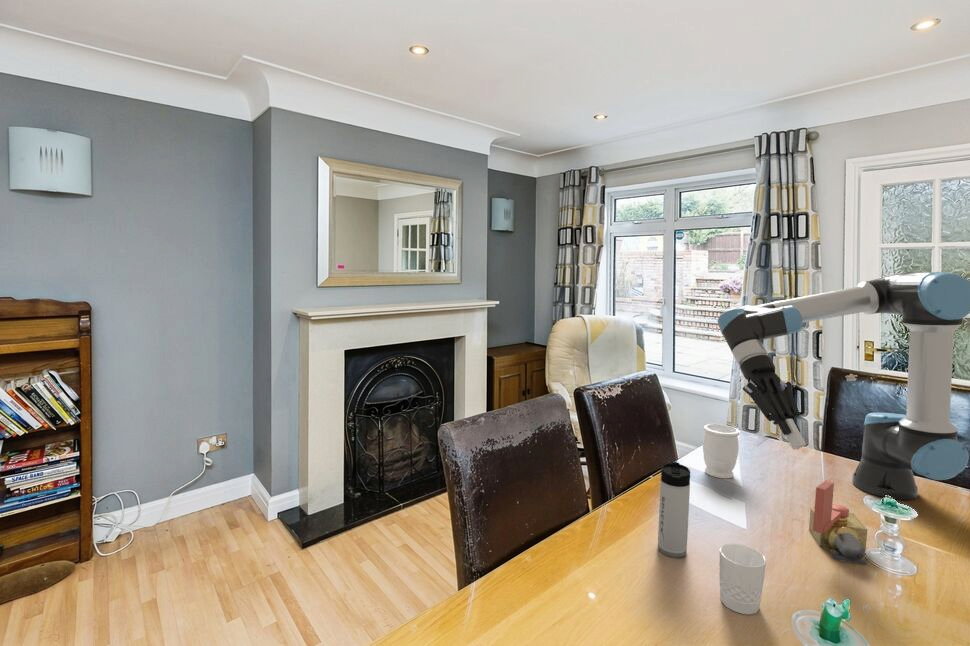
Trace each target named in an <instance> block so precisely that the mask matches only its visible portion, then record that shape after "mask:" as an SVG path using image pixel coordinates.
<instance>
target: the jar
mask: <svg viewBox="0 0 970 646" xmlns="http://www.w3.org/2000/svg"><path fill="white" fill-rule="evenodd" d="M703 430H704V431H705V432H704V434H703V438H702V439H703V440H702V451H703V460H704V464H705V468H704V471H705V473H706V474H707V475H709V476H711V477H713V478H717V479H731V478H733V477H734V472H733V470H734V469H735V467H736V464H737V460H738V456H739V449H740V447H739V445H740V444H739V442H740V441H739V438H738V437H739V435H740V430H739V429H738V428H736V427H735V426H731V425H726V424H722V423H721V424H720V423H709V424H705V425H704V426H703Z"/></svg>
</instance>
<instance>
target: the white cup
mask: <svg viewBox="0 0 970 646" xmlns="http://www.w3.org/2000/svg"><path fill="white" fill-rule="evenodd" d="M766 564H767V560H766V557H765V556H764V554H763V553H761V552H760V551H759V550H757V549H755V548H752V547H750V546H748V545H745V544H740V543H726V544H725V543H724V544H723V545H721V546H720V548H719V587H720V590H719V591H720V593H719V595H720V597H719V598H720V602H721V603H722V604H723V605H724V607H726V608H728V609H729V610H731V611H733V612H735V613H739V614H741V615H747V616H748V615H750V616H751V615H754V614H757V612H758V611H759V610H760V607H761V606H760V605H761V597H762V595H763V594H762V593H763V588H764V581H765V580H764V579H765V572H766V571H765V570H766Z"/></svg>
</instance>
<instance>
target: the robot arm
mask: <svg viewBox="0 0 970 646" xmlns="http://www.w3.org/2000/svg"><path fill="white" fill-rule="evenodd" d="M859 313H863V314H865V315H874V314H883V313H884V314H898V315H899V314H900V315H902V325H904V326H905V327H906V328H907V329H908V331H909V337H908V339H909V340H908V341H909V342H908V343H909V344H908V364H907V365H908V368H907V390H906V413H905V414H904V413H903V414H902V413H893V412H892V413H891V412H870V413H867V414H866V415H865V418H864V423H863V438H862V447H861V448H862V449H861V459H860V461H859V463H858V464H857V467H856V469H855V471H854V472H853V474H852V482H851V483H852V484H853V486H854V487H856V488H857V489H859V490H861V491H863V492H865V493H868V494H870V495H874V496H877V497H882V498H884V497H883V496H885V495H889V496H891V497H893V498H895V499H894V500H898V501H900V500H901V501H910V500H911V501H912V500H916V499H917V498H918V493H919V491H918V486H917V484H916V480H915V477H914V473H916V474H917V475H920V476H922V477H926V478H928V479H931V480H935V481H943V480H944V481H947V480H950V479H953V478H955V477H957V475H959V474H961V473H962V472H963V471H964V470H965V469H966V467H967V465H968V462H969V459H970V458H969V457H970V455H969V451H968V450H967V447H966V446H964V445H963V444H962V442H960V441H958V428H957V426H956V425H954V424H953V423H952V422H951V420H950V419H951V399H952V378H953V377H952V376H953V375H952V374H953V360H954V359H953V356H954V354H953V353H954V335H955V333H954V332H955V331H956V330H957V329H958V328H961V327H962V326H963V320H964V318H965V317H967V316H968V315H970V281H969V280H968V279H967V278H966V277H964V276H962V275H960V274H957V273H953V272H952V273H951V272H945V271H941V272H940V271H935V272H901V273H897V274H892V275H888V276H885V277H880V278H875V279H872V280H867V281H861V282H859V283H858V284H857V285H856V286H853V287H847V288H843V289H837V290H833V291H831V290H830V291H828V292H827V291H826V292H821V293H815V294H810V295H804V296H800V297H794V298H790V299H783V300H777V301H773V302H769V303H761V304H756V305H755V304H749V305H743V306H740V308H736V307H735V308H730V309H728V310H725V311H724V312H722V313H721V314H720V315H719V316H718V318H717V325H718V328H719V331H720V333H721V335H722V336H723V339H724V340H725V341H726V343H727V345H728V347H729V349H730V351H731V354H732V355H733V358H734V359H735V361H736V363H737V365H738V367H739V369H740V372H741V373H742V375H743V377H744V379H745V380H747V383H746V385H744V386H743V387H742V390H743V391H744V392H745V393H746V394H747V395H748V396H749V397H750V399H752V401H753V402H754V404H755V405H756V406H757V408H758V409H759V410H760V412H761V414H762V415H764V418H766V420H767V421H768V422H772V424H773V425H778V427H779V428H780V431H781V432H782V435H784V436H785V437H786V439H787V441H788V442H789V444H790V446H791V448H792V450H800V449H801V448H803V447H805V446H806V445H807V444H806V441H805V440H804V438H803V436H802V434H801V429H800V427H799V426H798V424H797V421H796V420H795V419H796V418H799V417H800V411H799V409H798V405H797V403H796V399H795V396H794V392H793V389H792V387H793V384H792V382H790V381H787V382H785V381H783V380H781V378H780V377H779V375H777V374H776V366H775V364H774V362H773V360H772V358H771V357H770V356H769V353H768V351H767V349H766V348H765V345H764V344H763V342H762V341H764V340H768V339H772V338H777V337H778V338H779V337H783V336H789V335H791V334H796V333H798V332H800V331H801V329H802V328H803V323H809V322H813V321H814V322H815V321H819V320H825V319H827V320H828V319H831V318H837V317H842V316H848V315H854V314H859ZM913 472H914V473H913Z"/></svg>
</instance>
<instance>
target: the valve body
mask: <svg viewBox="0 0 970 646" xmlns="http://www.w3.org/2000/svg"><path fill="white" fill-rule="evenodd" d="M814 510H815V506H814V507H810V512H809V526H808V531H809V533H810V534H811V537H812V538H813V539H814V541H815V542H816V544H817V546H818V547H819V548H822V549H823V548H824V549H827V550H828V549H829V550H830V556H831V557H832V558H833V559H834V560H835V561H836V560H837V561H843V562H848V563H852V564H853V563H854V564H855V563H856V564H862V565H867V559H866V557H865V555H866V550H867V537H868V528H867V527H866V526H865V525H864V523H862V521H861V520H860V519H859V518H858V517H857V516H856V515H855V513H853V512H849V517H847V518H841V517H840V518H839V519H838V520H837V521H836V522H835V523H834V524H833V525H832V526H830V527H829V528H828V529H827V530H826V531H825V532H822V533H818V532H815V531H813V523H814Z"/></svg>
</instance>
